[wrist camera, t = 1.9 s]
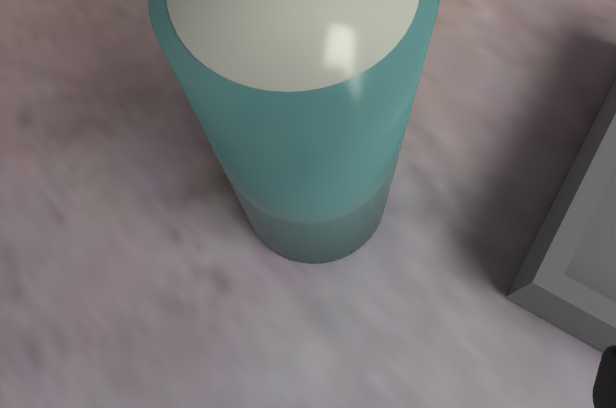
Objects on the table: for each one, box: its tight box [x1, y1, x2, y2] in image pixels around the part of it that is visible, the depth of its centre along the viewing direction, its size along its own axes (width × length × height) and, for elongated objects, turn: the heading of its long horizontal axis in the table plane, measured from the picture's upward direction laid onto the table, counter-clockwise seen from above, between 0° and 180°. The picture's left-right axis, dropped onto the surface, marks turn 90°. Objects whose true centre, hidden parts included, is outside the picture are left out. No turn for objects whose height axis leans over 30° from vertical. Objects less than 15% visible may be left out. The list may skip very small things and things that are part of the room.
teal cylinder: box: [148, 0, 440, 264], centre depth 17 cm, size 6×6×13 cm
